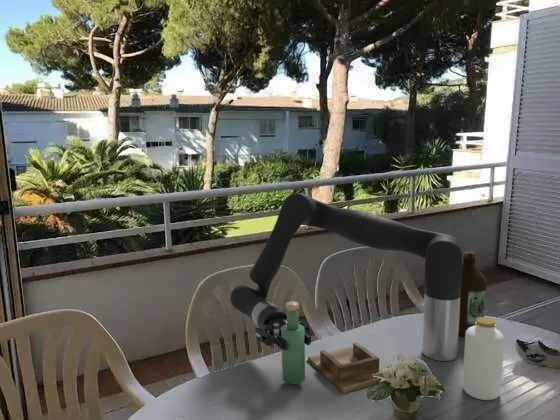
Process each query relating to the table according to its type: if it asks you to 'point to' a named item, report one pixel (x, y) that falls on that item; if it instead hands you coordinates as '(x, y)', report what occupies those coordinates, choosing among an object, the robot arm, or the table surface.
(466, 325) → the olive oil
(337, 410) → the table surface
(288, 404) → the table surface
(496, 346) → the potion bottle
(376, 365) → the bottle rest
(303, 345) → the bottle
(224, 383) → the table surface
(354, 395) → the table surface
